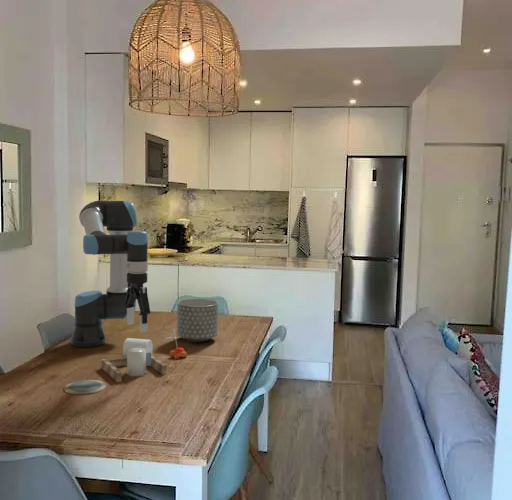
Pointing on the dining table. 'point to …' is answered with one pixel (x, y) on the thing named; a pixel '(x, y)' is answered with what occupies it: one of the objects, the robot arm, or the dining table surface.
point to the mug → (137, 345)
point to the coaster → (84, 387)
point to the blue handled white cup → (137, 361)
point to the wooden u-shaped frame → (111, 364)
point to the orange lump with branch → (177, 350)
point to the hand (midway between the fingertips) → (136, 328)
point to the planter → (197, 319)
